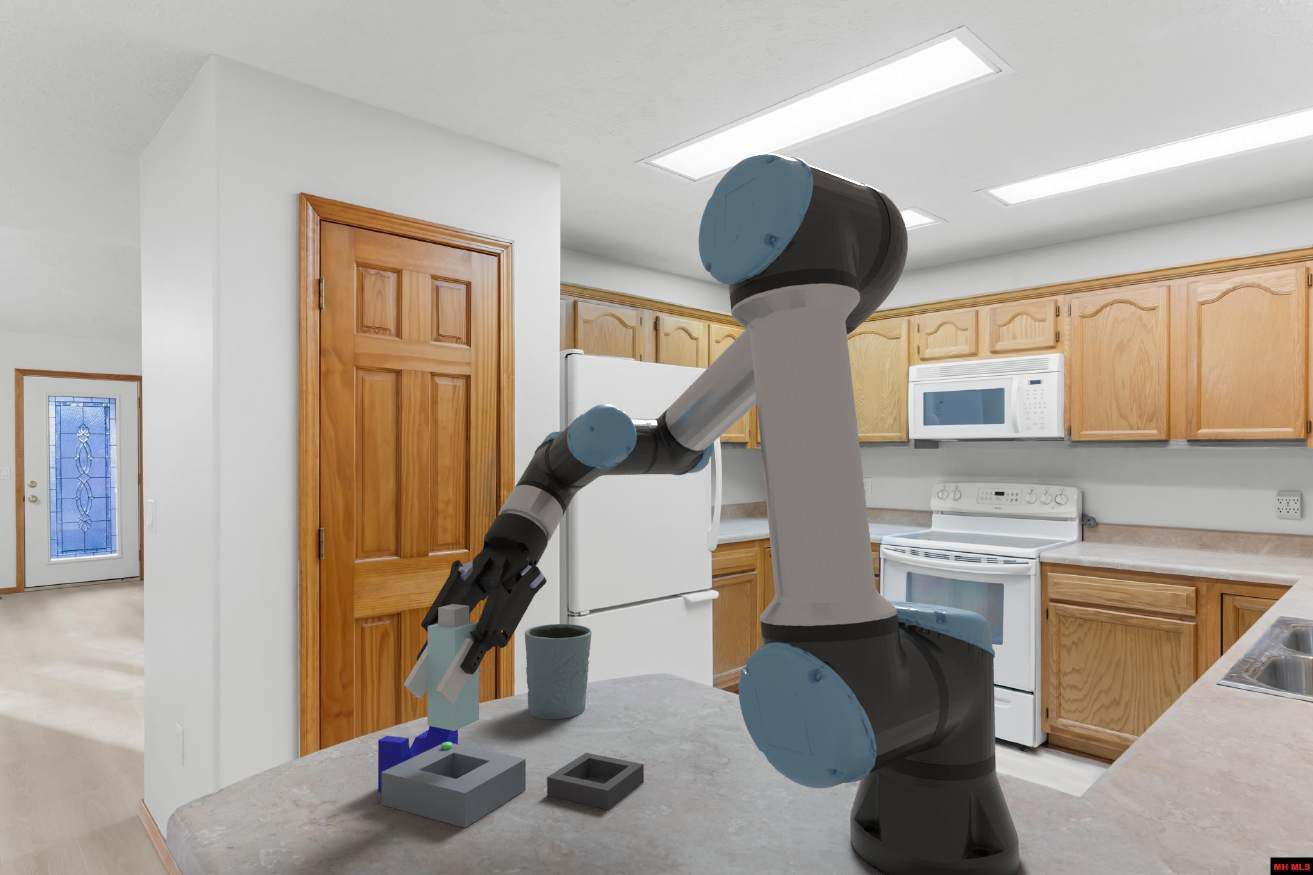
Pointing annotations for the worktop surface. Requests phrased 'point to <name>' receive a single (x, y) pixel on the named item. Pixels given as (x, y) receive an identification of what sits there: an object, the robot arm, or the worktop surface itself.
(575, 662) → the grey-green tumbler cup
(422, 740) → the cable clip
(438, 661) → the capped teal pillar
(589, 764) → the frame
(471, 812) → the block
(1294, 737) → the worktop surface
